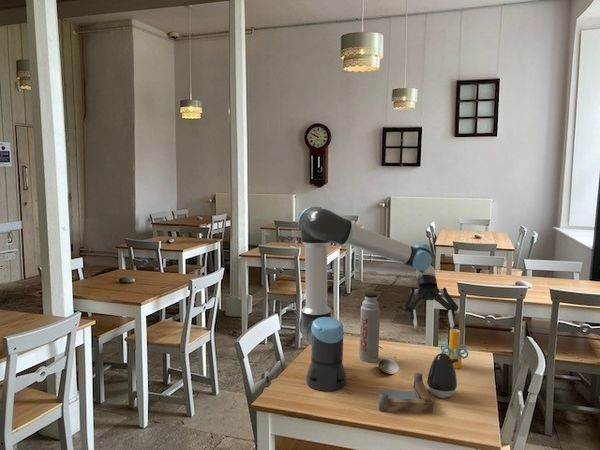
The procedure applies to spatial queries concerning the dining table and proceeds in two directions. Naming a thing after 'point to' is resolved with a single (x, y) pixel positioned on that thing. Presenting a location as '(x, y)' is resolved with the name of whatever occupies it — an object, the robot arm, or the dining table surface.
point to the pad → (399, 394)
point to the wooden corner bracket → (408, 400)
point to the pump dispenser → (442, 376)
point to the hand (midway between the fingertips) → (434, 327)
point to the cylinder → (455, 348)
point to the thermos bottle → (369, 329)
